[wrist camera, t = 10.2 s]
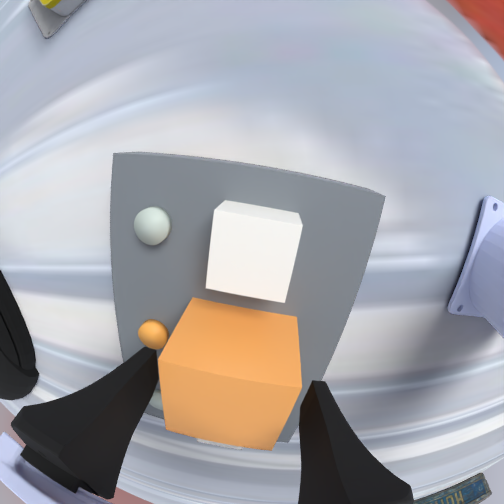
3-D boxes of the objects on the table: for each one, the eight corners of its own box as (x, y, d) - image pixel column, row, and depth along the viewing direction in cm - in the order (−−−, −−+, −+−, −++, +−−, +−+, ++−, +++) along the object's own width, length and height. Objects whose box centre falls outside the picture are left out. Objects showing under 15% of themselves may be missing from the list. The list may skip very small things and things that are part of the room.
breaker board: (367, 188, 13) (405, 205, 8) (288, 418, 19) (287, 463, 15) (138, 151, 13) (87, 155, 9) (145, 388, 19) (124, 427, 15)
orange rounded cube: (296, 316, 13) (302, 387, 8) (275, 385, 14) (271, 450, 10) (192, 297, 13) (157, 359, 8) (189, 369, 14) (166, 429, 10)
